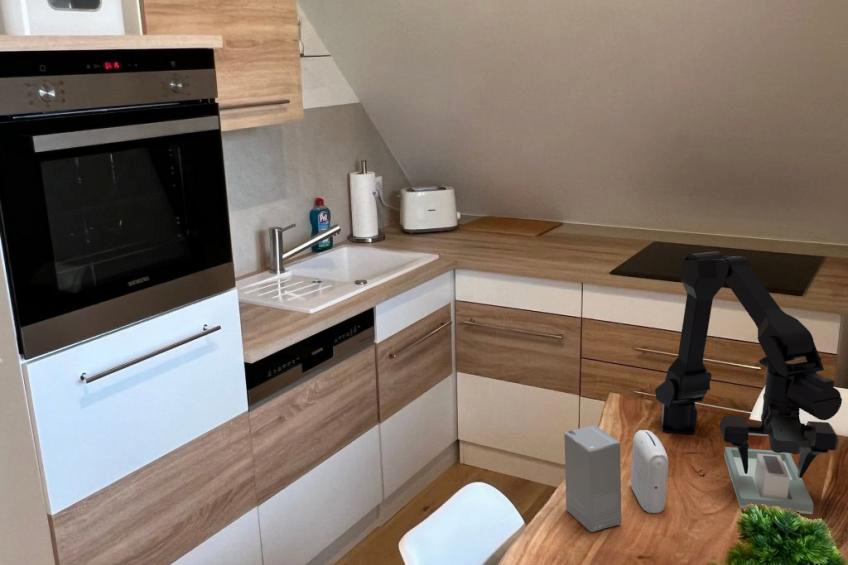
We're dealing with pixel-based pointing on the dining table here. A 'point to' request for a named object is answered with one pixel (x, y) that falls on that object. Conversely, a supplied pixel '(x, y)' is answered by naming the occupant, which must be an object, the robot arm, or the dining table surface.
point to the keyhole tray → (748, 489)
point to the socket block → (771, 476)
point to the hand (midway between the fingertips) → (772, 474)
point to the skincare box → (593, 477)
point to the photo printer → (649, 471)
